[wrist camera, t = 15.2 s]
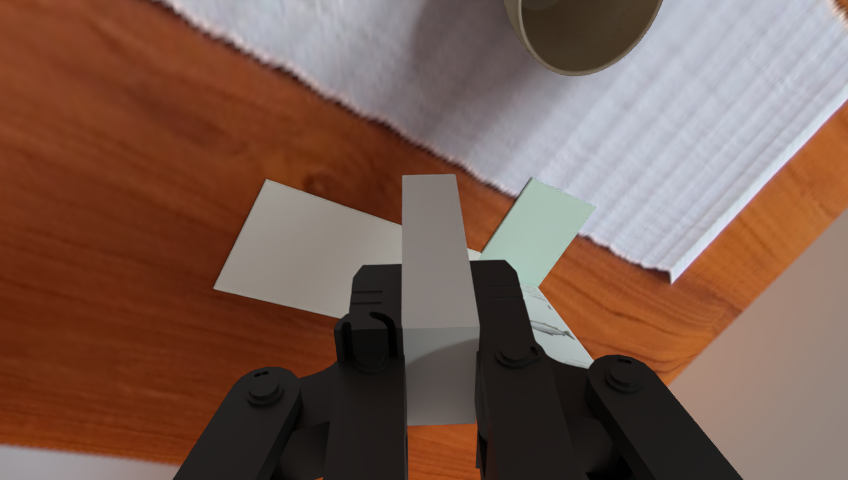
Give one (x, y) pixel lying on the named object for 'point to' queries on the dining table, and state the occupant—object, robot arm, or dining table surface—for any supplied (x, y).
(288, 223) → the t mat
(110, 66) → the dining table surface
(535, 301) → the supplement box
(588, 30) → the flower pot
